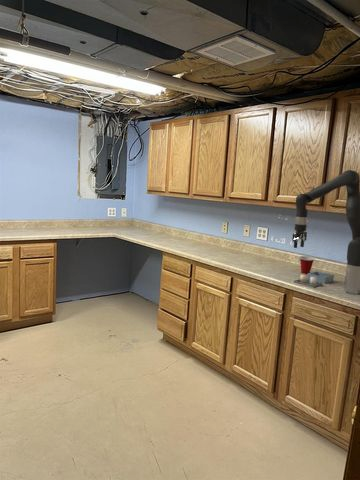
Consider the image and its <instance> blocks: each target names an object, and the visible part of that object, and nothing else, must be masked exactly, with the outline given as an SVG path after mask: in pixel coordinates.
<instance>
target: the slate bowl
mask: <svg viewBox="0 0 360 480" xmlns="http://www.w3.org/2000/svg"><path fill="white" fill-rule="evenodd" d="M310 277H317V282H320V283H323V284H328V283H332V282H334V277H335V275H334V274H332V273H326V272H321V271H318V270H316V271H312V272H311V271H310V273H308V274H307V279H308V280H310Z"/></svg>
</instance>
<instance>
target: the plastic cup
mask: <svg viewBox="0 0 360 480" xmlns="http://www.w3.org/2000/svg"><path fill="white" fill-rule="evenodd" d="M315 259H316V258H315V257H313V256H310V255H301V256H299V261H300V262H299V263H300V273H301V274H305V275H308V273H311V270H312V266H313V263H314V260H315Z"/></svg>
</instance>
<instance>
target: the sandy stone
mask: <svg viewBox="0 0 360 480" xmlns="http://www.w3.org/2000/svg"><path fill="white" fill-rule="evenodd" d="M307 276H308V274H303V273H301V274H300V277H299V279H300V282H302V283H306V280H307Z"/></svg>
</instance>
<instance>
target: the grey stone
mask: <svg viewBox="0 0 360 480" xmlns="http://www.w3.org/2000/svg"><path fill="white" fill-rule="evenodd" d="M316 282H317V277H310V285H316Z"/></svg>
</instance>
